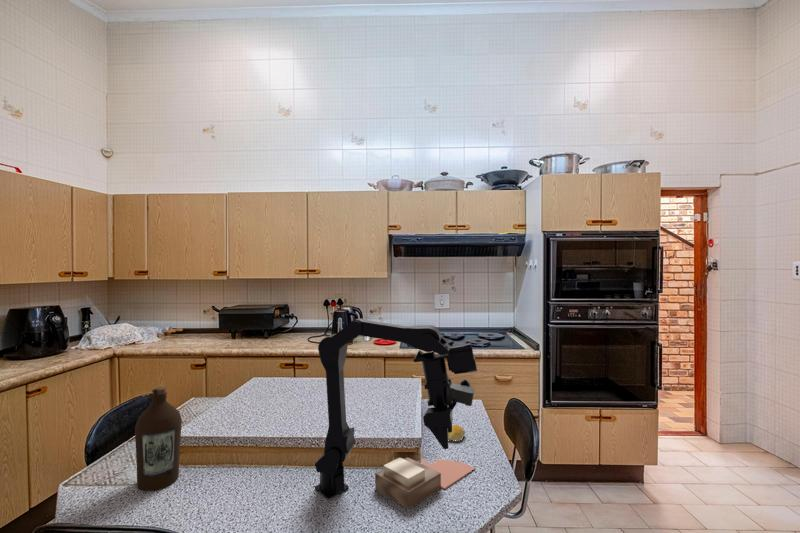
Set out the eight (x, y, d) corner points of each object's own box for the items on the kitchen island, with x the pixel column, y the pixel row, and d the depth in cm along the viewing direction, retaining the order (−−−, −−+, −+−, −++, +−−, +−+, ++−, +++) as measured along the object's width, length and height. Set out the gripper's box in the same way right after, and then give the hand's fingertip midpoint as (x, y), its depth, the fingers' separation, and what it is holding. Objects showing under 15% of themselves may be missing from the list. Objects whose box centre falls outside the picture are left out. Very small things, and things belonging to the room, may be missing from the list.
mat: (405, 469, 106) (405, 468, 106) (437, 452, 116) (437, 451, 116) (444, 489, 96) (444, 488, 96) (475, 469, 106) (475, 468, 106)
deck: (375, 488, 97) (375, 473, 97) (407, 471, 105) (407, 457, 105) (408, 509, 88) (408, 492, 88) (440, 488, 97) (440, 472, 97)
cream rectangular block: (383, 473, 97) (383, 465, 97) (399, 464, 101) (399, 457, 101) (408, 487, 90) (408, 478, 90) (424, 477, 95) (424, 469, 95)
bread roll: (441, 430, 133) (441, 419, 133) (466, 434, 130) (466, 422, 130) (435, 440, 125) (435, 428, 125) (461, 444, 122) (461, 432, 122)
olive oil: (135, 478, 102) (136, 386, 102) (180, 467, 108) (180, 380, 108) (133, 498, 93) (134, 397, 94) (182, 484, 99) (183, 389, 99)
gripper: (466, 384, 82) (480, 456, 81) (470, 363, 100) (481, 422, 99) (417, 390, 84) (430, 459, 83) (429, 368, 102) (440, 425, 101)
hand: (448, 440), depth 92 cm, fingers open, 9 cm apart
